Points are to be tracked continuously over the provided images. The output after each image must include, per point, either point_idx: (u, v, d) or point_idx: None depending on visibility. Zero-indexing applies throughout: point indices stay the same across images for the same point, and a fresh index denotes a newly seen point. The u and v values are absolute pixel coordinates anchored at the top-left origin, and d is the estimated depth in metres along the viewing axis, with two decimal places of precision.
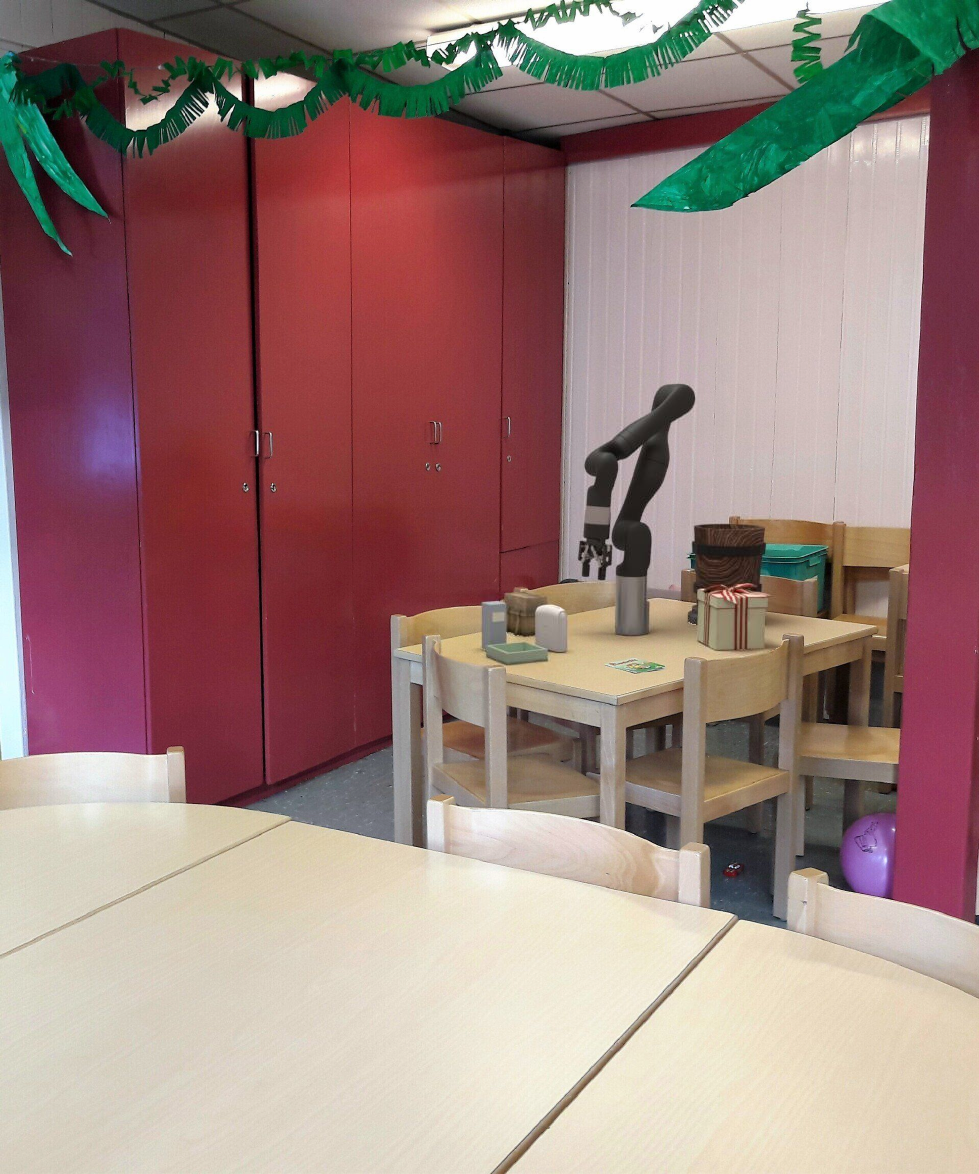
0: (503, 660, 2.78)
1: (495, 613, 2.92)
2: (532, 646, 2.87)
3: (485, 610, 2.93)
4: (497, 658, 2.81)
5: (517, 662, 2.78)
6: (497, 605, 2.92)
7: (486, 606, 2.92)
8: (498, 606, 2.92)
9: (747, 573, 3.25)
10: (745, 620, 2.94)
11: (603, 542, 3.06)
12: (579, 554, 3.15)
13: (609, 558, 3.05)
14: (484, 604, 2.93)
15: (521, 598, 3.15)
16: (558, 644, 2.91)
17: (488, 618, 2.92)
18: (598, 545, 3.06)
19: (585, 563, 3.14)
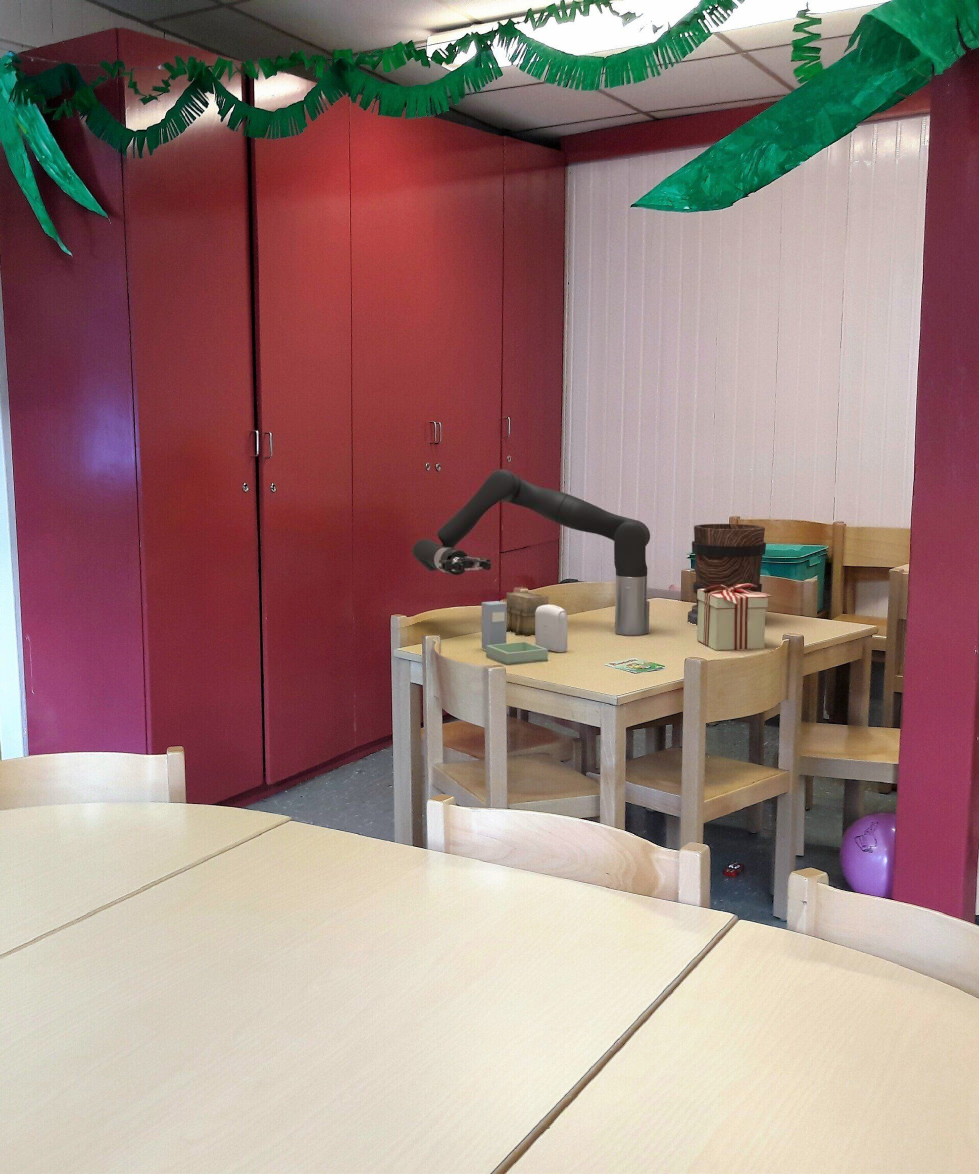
0: (503, 660, 2.78)
1: (495, 613, 2.92)
2: (532, 646, 2.87)
3: (485, 610, 2.93)
4: (497, 658, 2.81)
5: (517, 662, 2.78)
6: (497, 605, 2.92)
7: (486, 606, 2.92)
8: (498, 606, 2.92)
9: (747, 573, 3.25)
10: (745, 620, 2.94)
11: None
12: None
13: None
14: (484, 604, 2.93)
15: (522, 598, 3.15)
16: (558, 644, 2.91)
17: (488, 618, 2.92)
18: None
19: (482, 566, 3.08)
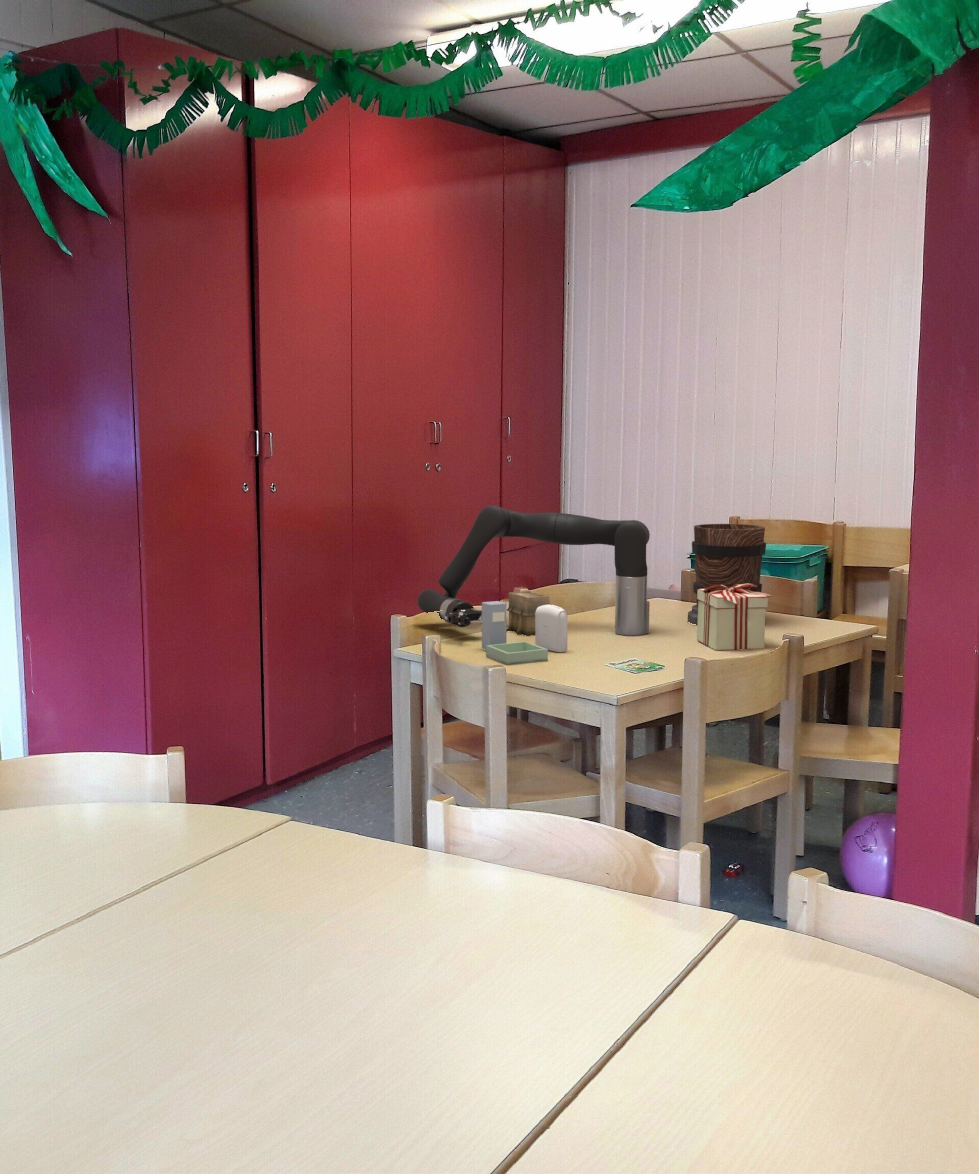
0: (503, 660, 2.78)
1: (496, 613, 2.92)
2: (532, 646, 2.87)
3: (485, 610, 2.93)
4: (497, 658, 2.81)
5: (517, 662, 2.78)
6: (497, 605, 2.92)
7: (486, 606, 2.92)
8: (498, 606, 2.92)
9: (747, 573, 3.25)
10: (745, 620, 2.94)
11: None
12: None
13: None
14: (484, 604, 2.94)
15: (523, 597, 3.16)
16: (558, 644, 2.91)
17: (488, 618, 2.92)
18: None
19: None
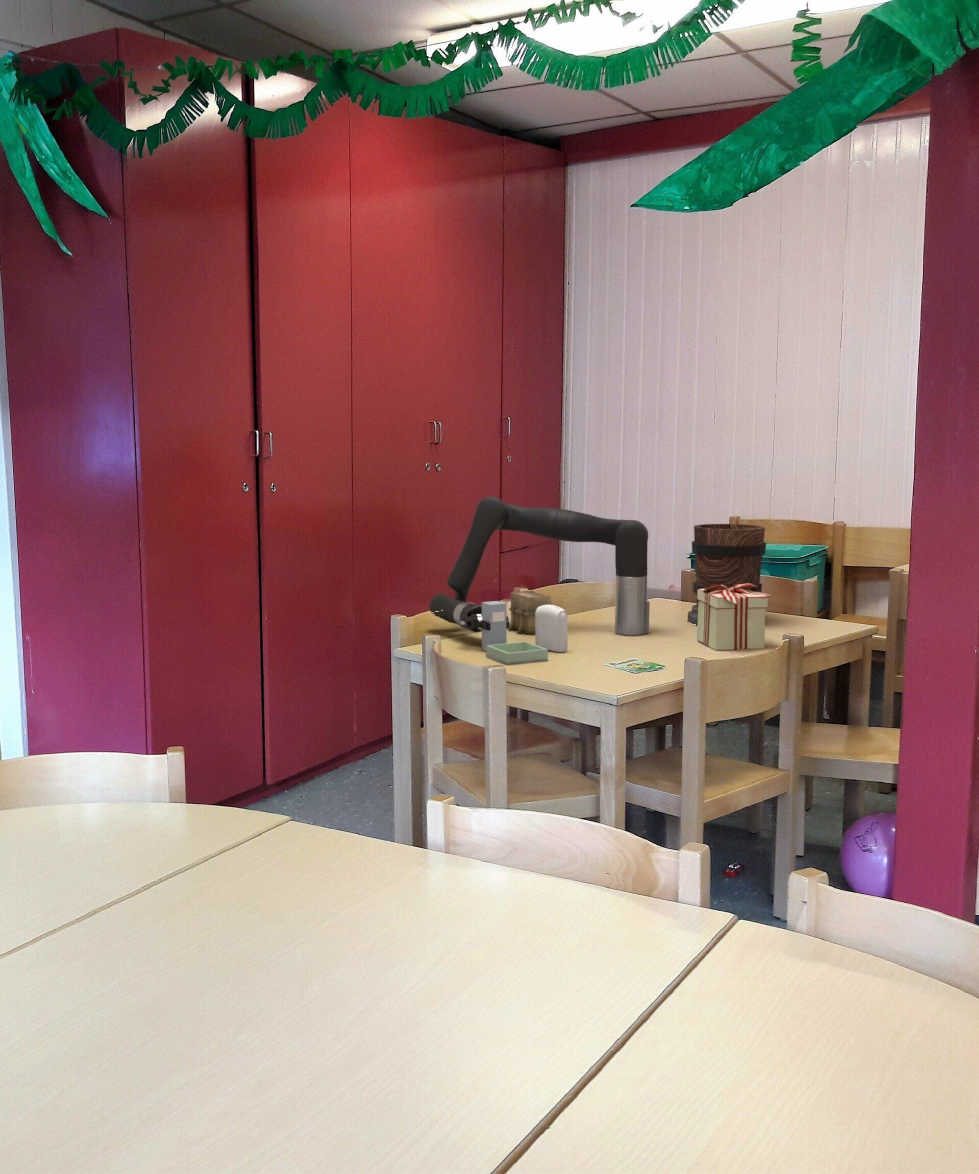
0: (503, 660, 2.78)
1: (496, 613, 2.92)
2: (532, 646, 2.87)
3: (485, 610, 2.93)
4: (497, 658, 2.81)
5: (517, 662, 2.78)
6: (497, 605, 2.92)
7: (486, 606, 2.92)
8: (498, 606, 2.92)
9: (747, 573, 3.25)
10: (745, 620, 2.94)
11: None
12: None
13: None
14: (484, 604, 2.93)
15: (524, 597, 3.16)
16: (558, 644, 2.91)
17: (488, 618, 2.92)
18: None
19: None
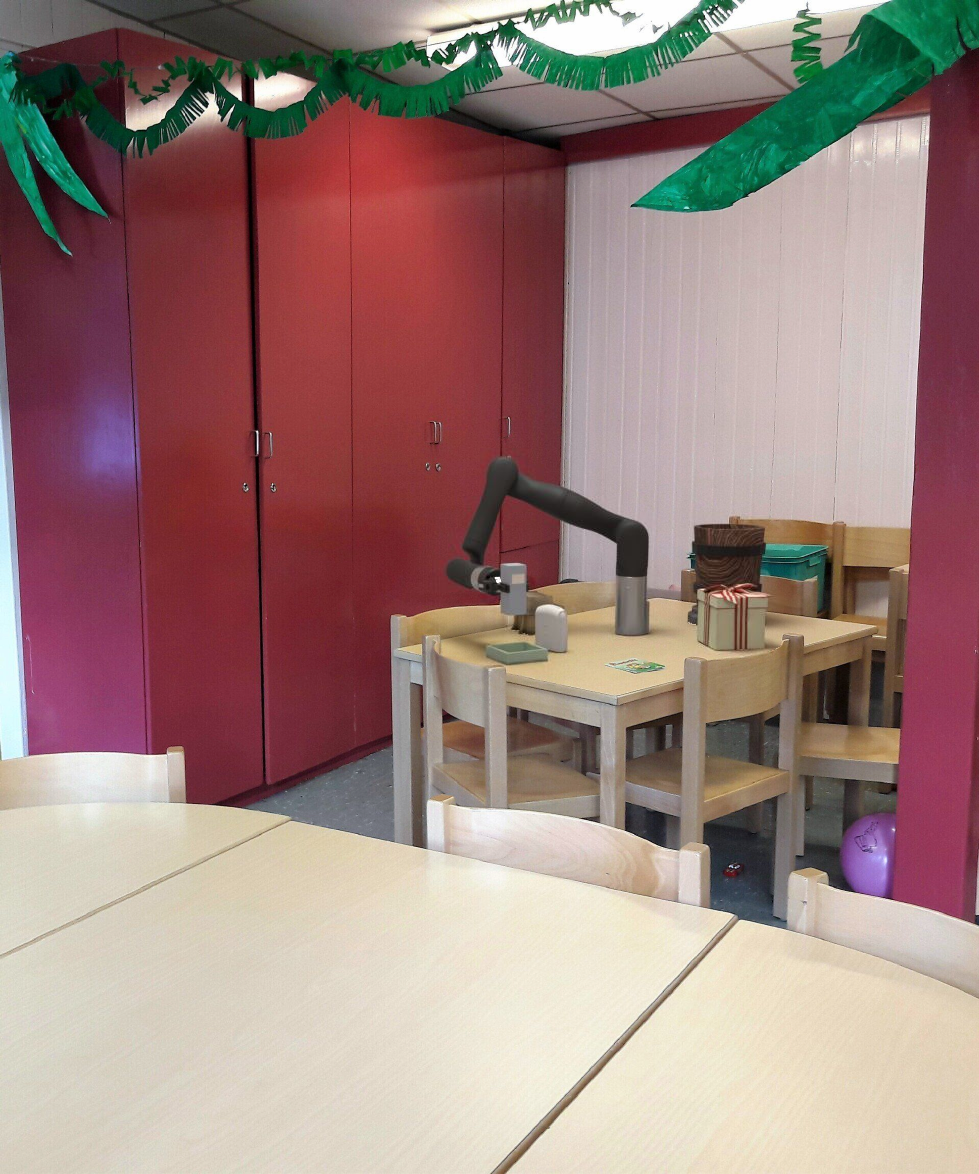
0: (503, 660, 2.78)
1: (515, 574, 2.80)
2: (532, 646, 2.87)
3: (504, 572, 2.82)
4: (497, 658, 2.81)
5: (517, 662, 2.78)
6: (517, 566, 2.80)
7: (505, 568, 2.81)
8: (517, 567, 2.80)
9: (747, 573, 3.25)
10: (745, 620, 2.94)
11: None
12: None
13: (488, 583, 2.84)
14: (503, 566, 2.82)
15: (526, 597, 3.17)
16: (558, 644, 2.91)
17: (507, 580, 2.80)
18: None
19: None
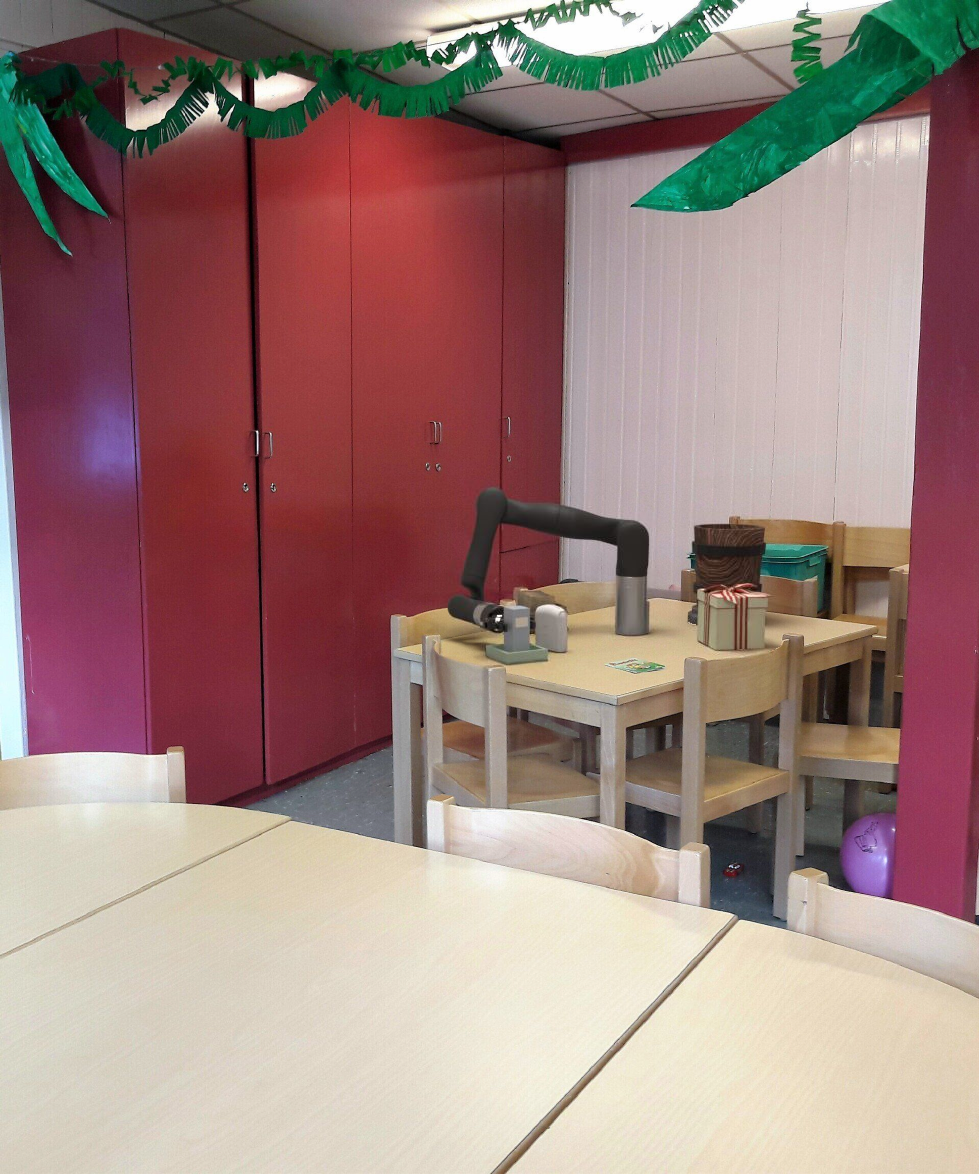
0: (503, 660, 2.78)
1: (519, 618, 2.80)
2: (532, 646, 2.87)
3: (507, 615, 2.82)
4: (497, 658, 2.81)
5: (517, 662, 2.78)
6: (520, 610, 2.80)
7: (509, 611, 2.81)
8: (521, 611, 2.80)
9: (747, 573, 3.25)
10: (745, 620, 2.94)
11: None
12: None
13: None
14: (506, 609, 2.82)
15: (528, 596, 3.18)
16: (558, 644, 2.91)
17: (511, 623, 2.80)
18: None
19: None
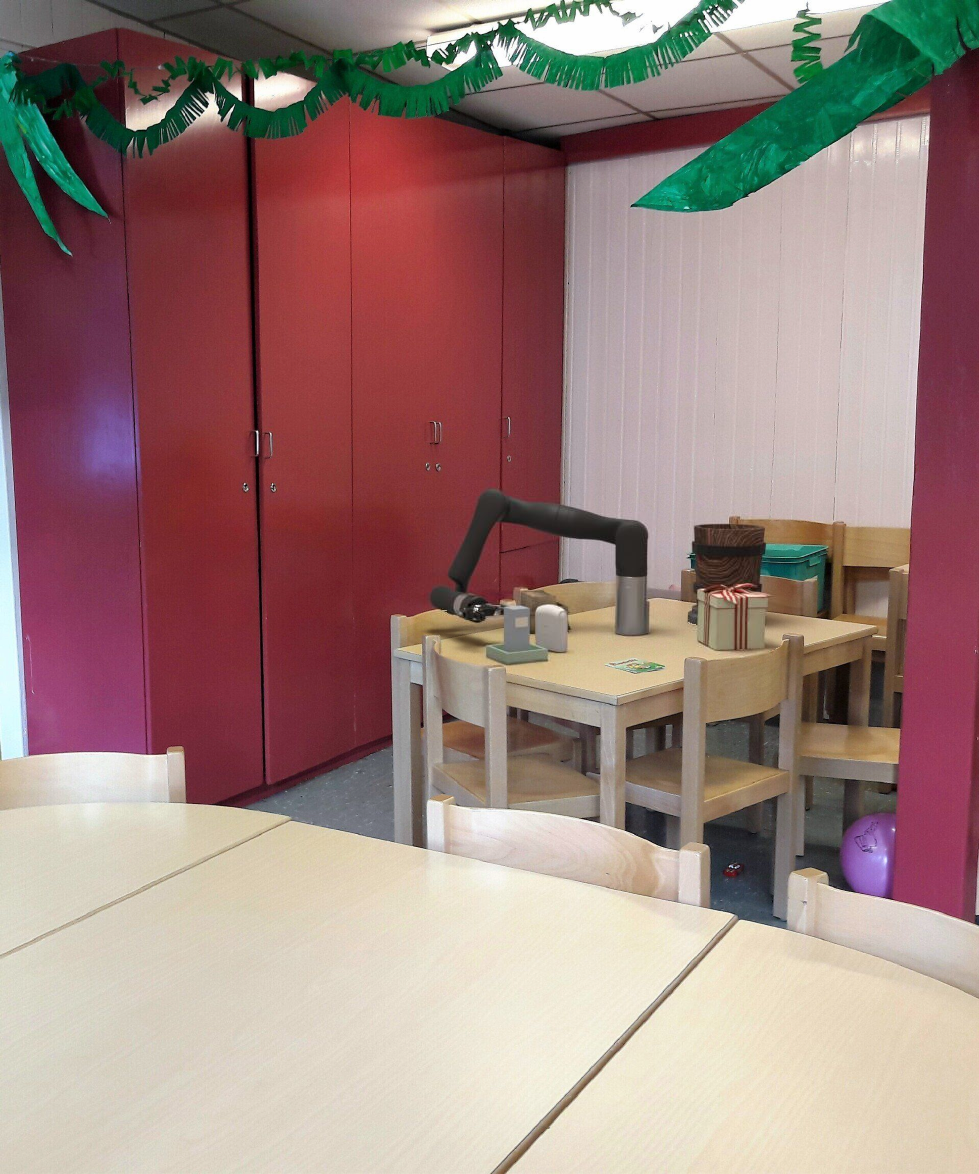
0: (503, 660, 2.78)
1: (519, 618, 2.80)
2: (532, 646, 2.87)
3: (507, 615, 2.82)
4: (497, 658, 2.81)
5: (517, 662, 2.78)
6: (520, 610, 2.80)
7: (509, 611, 2.81)
8: (521, 611, 2.80)
9: (747, 573, 3.25)
10: (745, 620, 2.94)
11: None
12: None
13: None
14: (506, 609, 2.82)
15: (529, 596, 3.18)
16: (558, 644, 2.91)
17: (511, 623, 2.80)
18: None
19: None
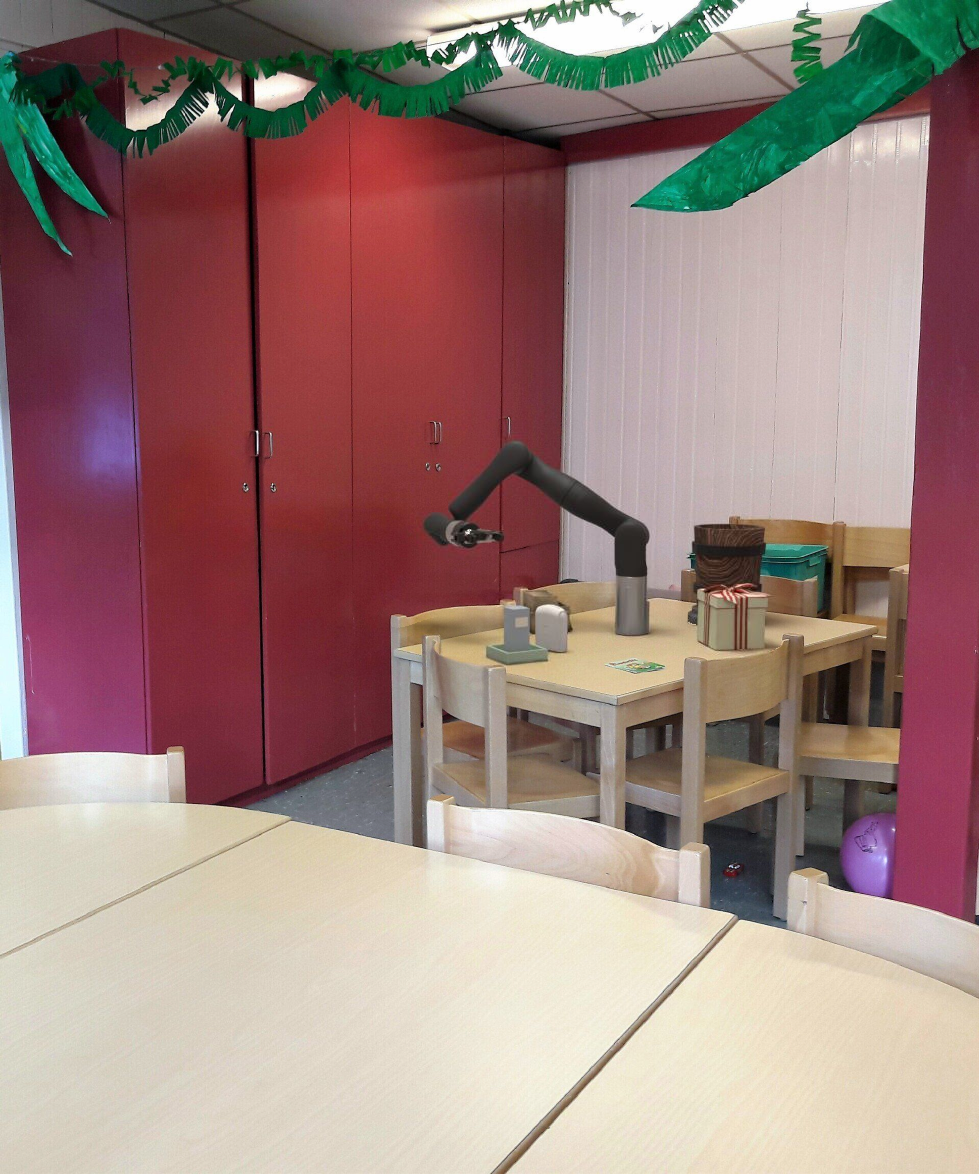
0: (503, 660, 2.78)
1: (519, 618, 2.80)
2: (532, 646, 2.87)
3: (507, 615, 2.82)
4: (497, 658, 2.81)
5: (517, 662, 2.78)
6: (520, 610, 2.80)
7: (509, 611, 2.81)
8: (521, 611, 2.80)
9: (747, 573, 3.25)
10: (745, 620, 2.94)
11: None
12: None
13: None
14: (506, 609, 2.82)
15: (530, 596, 3.19)
16: (558, 644, 2.91)
17: (511, 623, 2.80)
18: None
19: (495, 538, 3.02)
